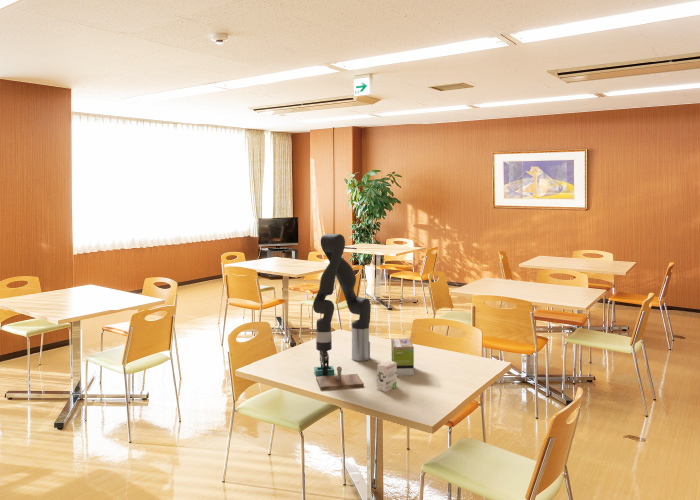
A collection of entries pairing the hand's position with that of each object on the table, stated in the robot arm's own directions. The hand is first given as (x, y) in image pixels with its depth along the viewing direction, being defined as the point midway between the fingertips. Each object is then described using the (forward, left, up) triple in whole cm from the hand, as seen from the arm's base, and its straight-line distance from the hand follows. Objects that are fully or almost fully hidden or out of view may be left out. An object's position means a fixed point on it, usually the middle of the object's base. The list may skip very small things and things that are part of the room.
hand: (324, 373), depth 267 cm
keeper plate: (-5, +14, -1) cm, 15 cm away
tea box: (-39, +3, -1) cm, 39 cm away
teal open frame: (0, 0, -1) cm, 1 cm away
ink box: (-25, +25, -1) cm, 35 cm away
